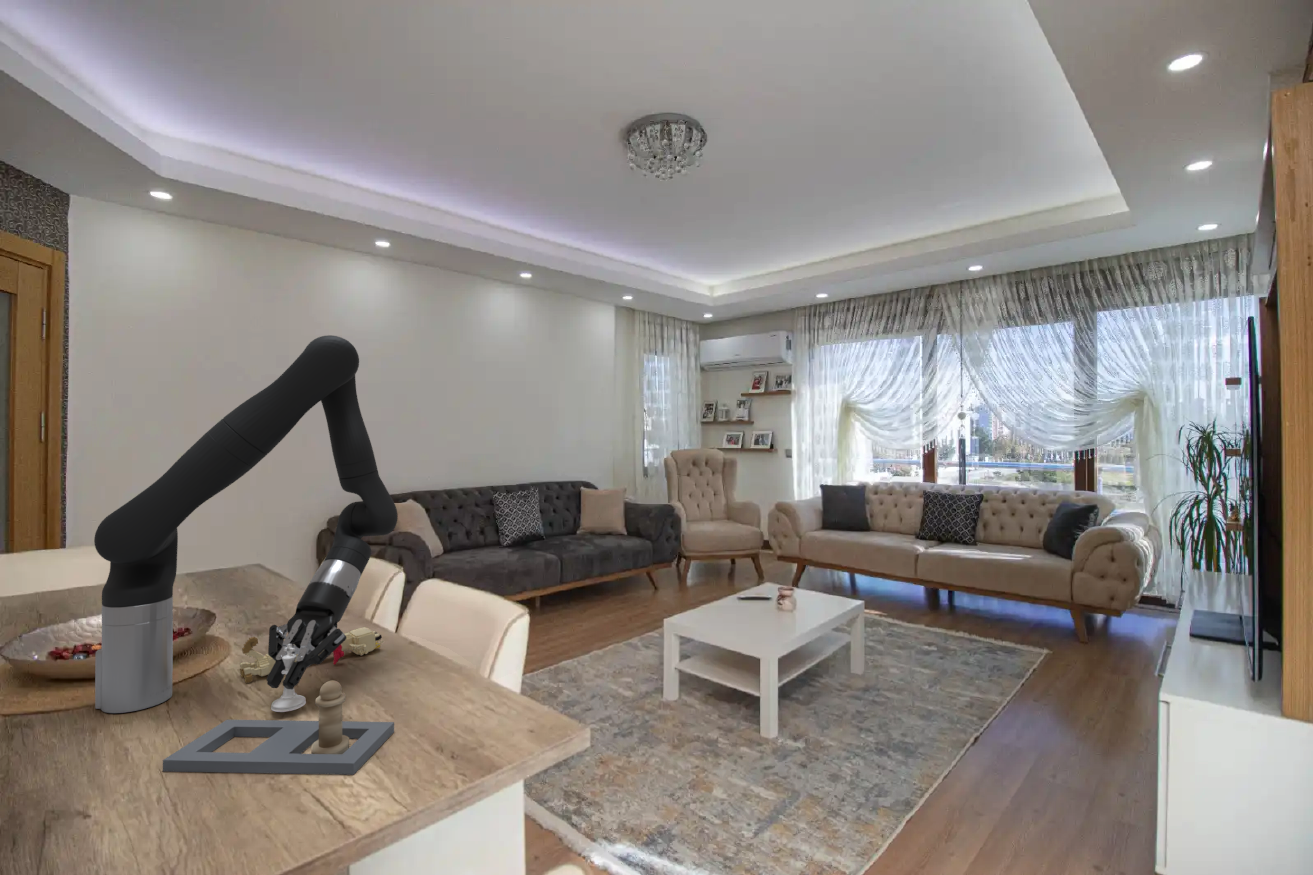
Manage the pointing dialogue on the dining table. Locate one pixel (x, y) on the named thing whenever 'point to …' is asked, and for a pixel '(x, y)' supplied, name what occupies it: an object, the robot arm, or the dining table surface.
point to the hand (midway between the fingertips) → (279, 686)
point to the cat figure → (355, 641)
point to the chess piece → (289, 696)
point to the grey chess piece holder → (279, 748)
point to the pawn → (330, 721)
